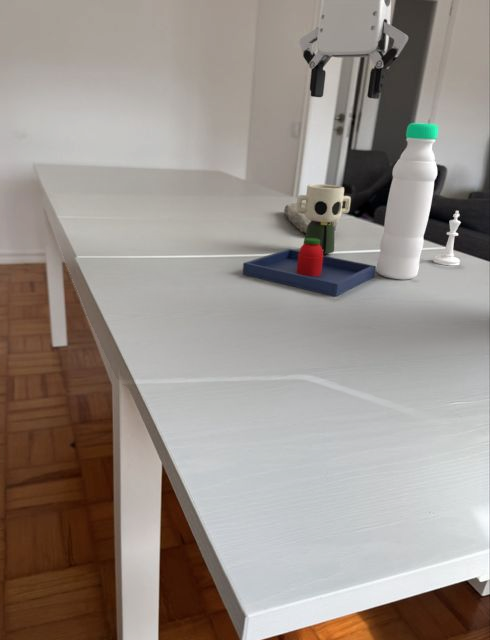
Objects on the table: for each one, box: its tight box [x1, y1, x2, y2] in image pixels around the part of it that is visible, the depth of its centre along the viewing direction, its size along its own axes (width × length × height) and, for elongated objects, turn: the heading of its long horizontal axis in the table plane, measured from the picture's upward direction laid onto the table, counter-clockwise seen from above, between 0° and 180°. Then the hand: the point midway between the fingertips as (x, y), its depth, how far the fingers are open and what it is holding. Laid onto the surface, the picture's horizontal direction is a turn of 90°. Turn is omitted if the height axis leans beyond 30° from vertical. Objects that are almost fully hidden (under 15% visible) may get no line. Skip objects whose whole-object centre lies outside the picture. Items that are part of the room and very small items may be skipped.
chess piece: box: [432, 210, 462, 267], centre depth 106 cm, size 5×5×10 cm
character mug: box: [296, 183, 352, 254], centre depth 109 cm, size 11×7×13 cm, turn 99°
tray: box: [242, 248, 377, 297], centre depth 94 cm, size 17×15×2 cm
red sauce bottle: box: [297, 237, 324, 276], centre depth 93 cm, size 4×4×6 cm
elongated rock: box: [283, 202, 338, 234], centre depth 139 cm, size 35×5×10 cm
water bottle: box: [375, 122, 439, 281], centre depth 93 cm, size 7×7×25 cm
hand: (344, 97), depth 87 cm, fingers open, 9 cm apart
